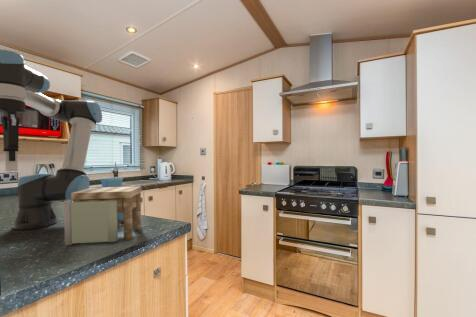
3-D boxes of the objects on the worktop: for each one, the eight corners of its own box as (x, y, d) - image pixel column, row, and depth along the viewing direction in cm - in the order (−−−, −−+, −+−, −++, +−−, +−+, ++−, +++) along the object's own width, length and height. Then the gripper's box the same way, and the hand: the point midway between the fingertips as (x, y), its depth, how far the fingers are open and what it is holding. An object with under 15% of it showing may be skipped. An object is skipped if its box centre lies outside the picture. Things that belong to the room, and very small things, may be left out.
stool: (72, 243, 83) (71, 193, 83) (92, 230, 97) (91, 187, 97) (131, 240, 85) (130, 191, 85) (142, 228, 99) (141, 186, 99)
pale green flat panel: (62, 245, 79) (61, 202, 79) (68, 242, 82) (67, 200, 82) (115, 243, 81) (114, 200, 81) (119, 240, 84) (118, 198, 84)
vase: (100, 220, 113) (99, 179, 113) (117, 216, 119) (116, 177, 119) (108, 222, 108) (107, 179, 108) (124, 218, 115) (124, 178, 114)
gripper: (-10, 100, 78) (-8, 171, 78) (-4, 94, 70) (-2, 172, 70) (21, 104, 84) (22, 169, 84) (29, 98, 76) (31, 171, 76)
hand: (11, 171), depth 77 cm, fingers closed
